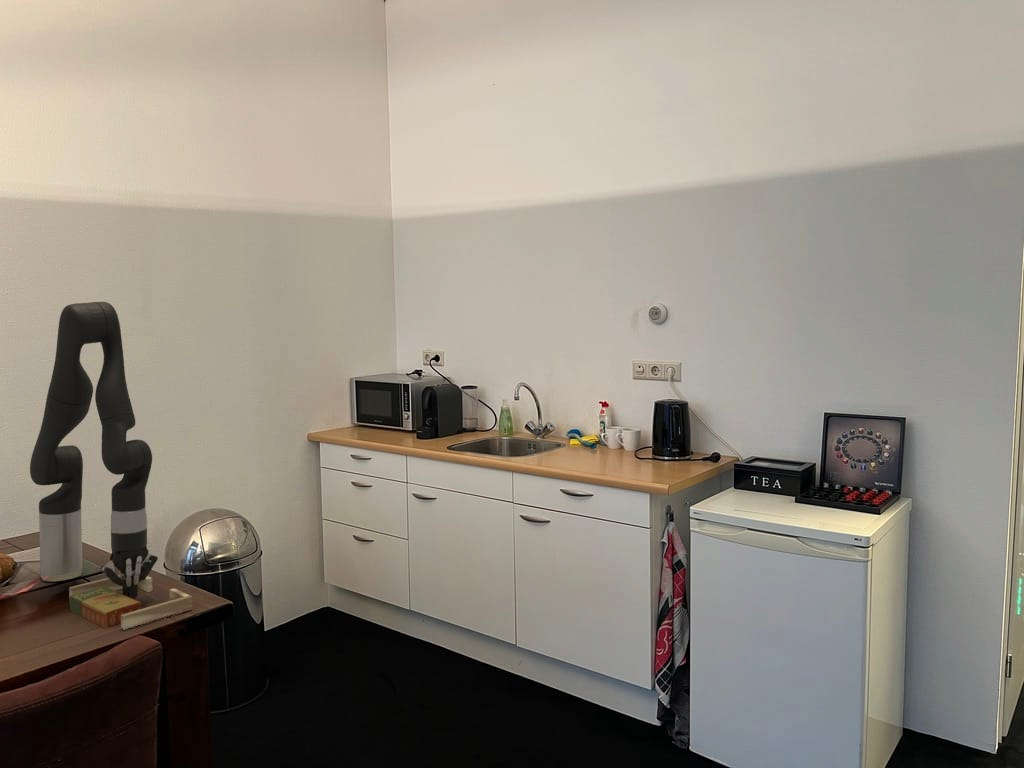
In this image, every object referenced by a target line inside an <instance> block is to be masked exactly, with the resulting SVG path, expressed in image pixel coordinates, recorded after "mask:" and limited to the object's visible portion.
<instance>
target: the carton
mask: <svg viewBox="0 0 1024 768" xmlns="http://www.w3.org/2000/svg"><path fill="white" fill-rule="evenodd" d="M140 609H142V603H141V601H139V600H137V599H136V600H135V599H132V598H130V597H128V596H125V595H123V593H120V592H118V591H117V590H115V591H114V590H112V589H109V588H107V587H105V586H103V587H99V588H95V589H92V590H88V591H85V592H81V593H78V594H74V595H71V596H70V601H69V611H70V612H72V613H74V614H77V615H78V616H81V617H82V618H85V619H86V620H88V621H90V622H92V623H94V624H96V625H97V626H98V625H99V627H102V628H104V629H109V628H112V627H115V626H114V625H116V626H119V625H121V615H123V614H126V613H129V612H133V611H136V610H140ZM118 624H119V625H118ZM111 626H112V627H111ZM108 627H109V628H108Z"/></svg>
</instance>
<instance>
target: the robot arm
mask: <svg viewBox="0 0 1024 768" xmlns="http://www.w3.org/2000/svg"><path fill="white" fill-rule="evenodd" d="M56 338H57V339H56V340H57V341H56V350H55V351H56V352H55V359H54V365H53V369H52V375H51V378H50V382H49V387H48V391H47V395H46V400H45V407H44V411H43V417H42V422H41V426H40V429H39V433H38V436H37V438H36V439H37V440H36V442H35V445H34V447H33V450H32V454H31V457H30V463H29V473H30V474H29V475H30V478H31V480H32V482H33V483H34V484H36V485H38V486H52V485H53V486H54V485H59V484H60V485H61V486H60V487H59V488H58V489H57V490H55V491H54V492H52V493H50V494H48V495H47V496H44V497H42V498H41V499H40V500H39V503H38V524H39V555H40V556H39V560H40V563H39V564H40V565H39V567H40V568H39V569H40V576H41V575H43V576H58V575H64V574H68V573H71V572H74V571H77V570H79V569H81V568H82V569H83V536H82V535H83V533H82V531H83V530H82V529H83V527H82V499H83V478H84V475H83V474H84V473H83V470H84V463H83V462H84V461H83V456H82V451H81V450H80V449H79V447H78V446H77V445H73V444H72V445H69V444H68V445H63V446H62V445H60V443H61V442H62V441H63V440H65V438H66V437H67V436H68V435H69V434H70V433H71V432H72V431H73V430H74V429H75V428H76V427H78V426H79V425H80V423H82V421H84V419H85V418H86V417H87V415H88V413H89V411H90V407H91V403H92V399H93V394H94V385H93V382H92V379H91V378H90V376H89V375H88V373H87V372H86V369H84V367H83V365H82V363H81V352H82V349H83V347H84V345H89V344H97V343H100V344H101V348H102V352H103V363H102V366H101V367H102V368H101V373H100V374H99V375H100V376H99V378H98V380H97V384H96V388H95V394H94V399H95V401H94V402H95V405H96V410H97V413H98V417H99V421H100V424H101V459H102V464H103V465H104V467H105V468H106V470H107V471H108V472H110V473H111V474H113V475H117V476H118V475H120V476H121V475H123V476H122V478H121V480H120V481H118V482H117V483H115V484H114V485H113V486H112V488H111V515H110V548H111V555H110V556H109V561H108V562H107V564H105V565H102V566H101V567H100V572H102V573H103V574H104V575H105V576H106V578H109V579H110V580H111V581H112V582H113V583H115V584H117V585H119V586H123V589H122V594H123V595H125V596H128V597H130V598H132V599H135V600H137V598H138V595H139V594H138V593H139V588H138V583H139V582H140V581H141V580H145V579H146V577H147V576H149V574H150V572H151V571H152V569H153V567H154V566H155V564H156V563H157V561H158V558H159V557H158V556H157V555H153V553H152V554H151V553H149V552H150V551H149V549H148V547H147V545H148V515H147V510H146V509H147V508H146V487H147V484H148V481H149V477H150V472H151V469H152V465H153V464H152V463H153V452H152V449H151V447H150V445H149V444H148V443H147V442H146V441H145V440H142V439H132V440H127V433H128V431H129V430H131V429H133V428H134V427H135V426H136V416H135V414H134V409H133V406H132V403H131V397H130V394H129V390H128V386H127V380H126V378H127V377H126V371H125V360H124V359H125V358H124V350H123V349H124V348H123V341H122V332H121V324H120V319H119V316H118V313H117V311H116V309H115V308H114V306H113V305H112V304H111V303H109V302H107V301H93V302H92V301H91V302H80V303H79V302H77V303H75V302H74V303H70V304H68V305H66V306H64V307H63V309H62V311H61V314H60V316H59V321H58V328H57V337H56ZM59 445H60V446H59ZM115 568H116V569H117V570H118V573H119V574H117V573H116V572H115V571H116V569H115ZM117 575H120V576H121V578H119V577H118V576H117Z"/></svg>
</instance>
